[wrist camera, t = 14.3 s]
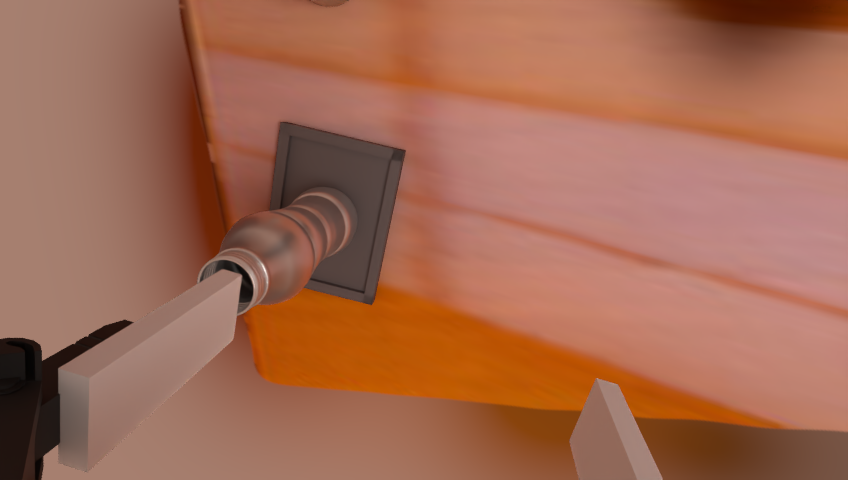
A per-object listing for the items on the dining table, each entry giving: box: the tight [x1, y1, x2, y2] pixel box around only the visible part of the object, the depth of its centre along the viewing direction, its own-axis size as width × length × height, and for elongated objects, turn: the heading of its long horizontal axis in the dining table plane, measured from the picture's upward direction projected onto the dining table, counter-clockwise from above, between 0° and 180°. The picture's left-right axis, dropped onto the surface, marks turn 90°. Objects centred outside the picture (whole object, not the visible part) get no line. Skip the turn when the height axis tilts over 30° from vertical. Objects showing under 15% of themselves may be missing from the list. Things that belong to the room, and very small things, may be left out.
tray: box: [269, 122, 405, 305], centre depth 45 cm, size 16×12×1 cm
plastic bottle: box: [197, 187, 357, 316], centre depth 36 cm, size 6×7×20 cm
